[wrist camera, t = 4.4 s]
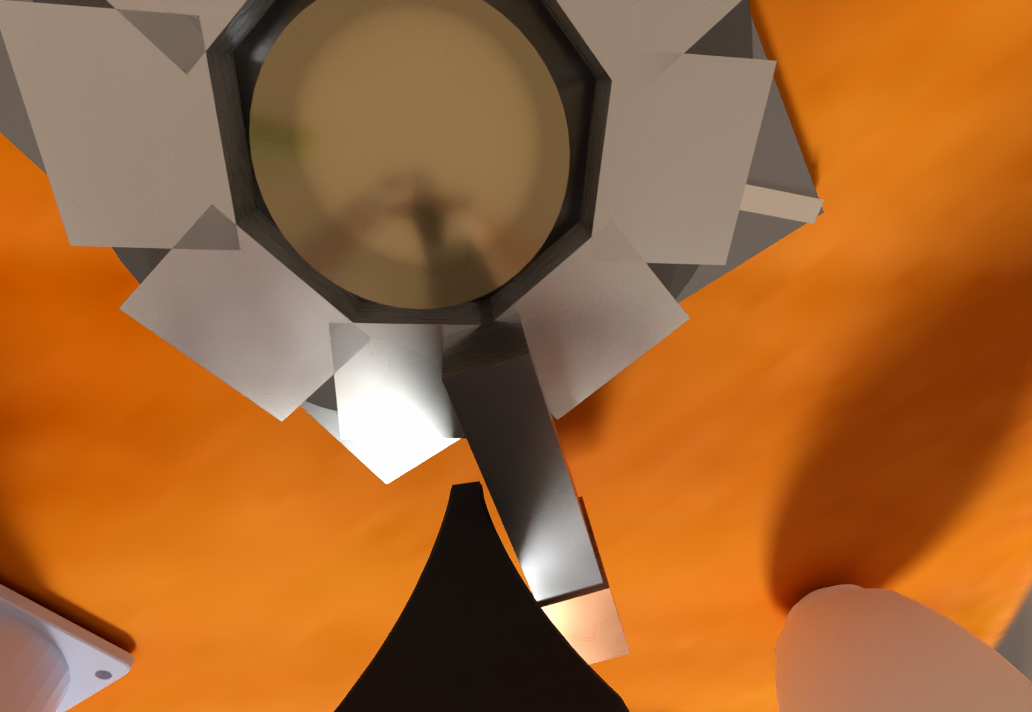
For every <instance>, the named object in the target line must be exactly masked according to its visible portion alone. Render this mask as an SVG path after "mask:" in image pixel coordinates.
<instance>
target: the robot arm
mask: <svg viewBox="0 0 1032 712" xmlns="http://www.w3.org/2000/svg"><path fill="white" fill-rule="evenodd" d="M133 664H134V658H133V656H132V655H131V654H130V653H129V652H127V651H125V650H123V649H121V648H119V647H117V646H116V645H114V644H112V643H110V642H108V641H106V640H104V639H103V638H101V637H99V636H97V635H95V634H93V633H91V632H89V631H88V630H86V629H84V628H82V627H80V626H78V625H76V624H74V623H73V622H71V621H69V620H67V619H65V618H63V617H61V616H59V615H58V614H56V613H54V612H52V611H50V610H48V609H46V608H45V607H43V606H41V605H39V604H37V603H35V602H33V601H31V600H30V599H28V598H26V597H24V596H22V595H20V594H18V593H16V592H15V591H13V590H11V589H9V588H7V587H5V586H3V585H1V584H0V712H65V711H67V710H68V709H70V708H71V707H73V706H75V705H76V704H78V703H80V702H81V701H83V700H85V699H86V698H88V697H90V696H91V695H93V694H95V693H96V692H98V691H99V690H101V689H103V688H104V687H106V686H108V685H109V684H111V683H113V682H114V681H116V680H118V679H119V678H121V677H122V676H124V675H126V674H127V673H128V672H129V671H130V669H131V667H132V666H133ZM334 712H629V710H628V708H627V707H626V705H625V703H624V701H623V700H622V698H621V697H620V696H619V695H618V694H617V693H616V692H615V691H614V690H613V689H612V688H611V687H610V686H609V685H608V684H607V683H606V682H605V681H604V680H603V679H602V678H601V677H600V676H599V675H598V674H597V673H596V672H595V671H594V670H593V669H592V668H591V667H590V666H589V665H588V664H587V663H586V661H585V660H584V659H583V658H582V657H581V656H580V655H579V654H578V653H577V652H576V651H575V649H574V648H573V647H572V646H571V645H570V643H569V642H568V641H567V640H566V638H565V637H564V636H563V635H562V634H561V632H560V631H559V630H558V629H557V628H556V626H555V625H554V624H553V623H552V621H551V620H550V619H549V618H548V616H547V615H546V613H545V612H544V611H543V609H542V608H541V607H540V605H539V604H538V602H537V601H536V600H535V598H534V597H533V595H532V594H531V592H530V591H529V589H528V588H527V586H526V585H525V583H524V581H523V580H522V578H521V577H520V575H519V573H518V572H517V570H516V568H515V566H514V565H513V563H512V561H511V559H510V558H509V556H508V554H507V552H506V550H505V548H504V546H503V544H502V542H501V540H500V538H499V536H498V534H497V532H496V530H495V527H494V525H493V523H492V520H491V517H490V515H489V512H488V509H487V506H486V503H485V500H484V495H483V488H482V485H481V484H480V481H478V482H471V483H464V484H457V485H452V489H451V492H450V497H449V501H448V505H447V509H446V512H445V516H444V519H443V522H442V525H441V528H440V531H439V533H438V536H437V538H436V541H435V544H434V546H433V549H432V551H431V554H430V556H429V559H428V561H427V563H426V565H425V567H424V570H423V572H422V574H421V576H420V578H419V580H418V583H417V585H416V587H415V589H414V591H413V593H412V595H411V597H410V599H409V600H408V602H407V604H406V606H405V608H404V610H403V611H402V613H401V615H400V617H399V618H398V620H397V622H396V624H395V625H394V627H393V629H392V630H391V632H390V633H389V635H388V637H387V638H386V640H385V641H384V643H383V645H382V646H381V648H380V649H379V651H378V652H377V654H376V655H375V657H374V658H373V660H372V661H371V663H370V664H369V666H368V667H367V668H366V670H365V671H364V672H363V674H362V675H361V676H360V678H359V679H358V680H357V682H356V683H355V685H354V686H353V687H352V689H351V690H350V691H349V693H348V694H347V695H346V697H345V698H344V699H343V701H342V702H341V703H340V705H339V706H338V707H337V708H336V710H335V711H334Z"/></svg>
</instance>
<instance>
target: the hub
mask: <svg viewBox="0 0 1032 712" xmlns="http://www.w3.org/2000/svg"><path fill="white" fill-rule="evenodd" d="M9 1H22V2H35V3H47V4H60V5H73V6H86V7H98V8H111V9H115V8H114V7H113V6H112V5H111V4H110V3H109V2H108V1H107V0H9ZM684 54H697V55H710V56H722V57H735V58H748V59H761V60H767V57H766V55H765V52H764V49H763V46H762V44H761V41H760V38H759V36H758V33H757V30H756V27H755V25H754V22H753V19H752V17H751V13H750V7H749V1H748V0H742V1H740V2H739V3H738V4H737V5H736V6H735V7H734V8H733V9H732V10H731V11H730V12H728V13H727V14H726V15H725V16H724V17H723V18H722V19H721V20H720V21H719V22H718V23H716V24H715V25H714V26H713V27H712V28H711V29H710V30H709V31H708V32H707V33H706V34H704V35H703V36H702V37H701V38H700V39H699V40H698V41H697V42H696V43H695V44H694V45H692V46H691V47H690V48H689V49H688V50H687V51H686V52H685V53H684ZM233 55H234V62H235V68H236V75H237V81H238V88H239V94H240V100H241V107H242V113H243V120H244V126H245V133H246V139H247V145H248V152H249V158H250V165H251V171H252V178H253V184H254V190H255V197H256V203H257V209H258V210H260V211H261V212H262V213H263V214H264V215H265V216H266V217H268V218H269V219H270V220H271V221H272V222H273V223H274V224H276V225H277V226H278V228H279V229H280V231H281V232H282V234H283V235H284V237H285V238H286V239H287V241H288V242H289V243H290V244H291V245H292V247H293V248H294V249H295V250H296V251H297V253H298V254H299V255H300V256H301V257H302V258H303V259H304V260H305V261H307V262H308V263H309V264H310V265H311V266H312V267H313V268H314V269H315V270H317V271H318V272H319V273H321V274H322V275H323V276H324V277H326V278H327V279H328V280H330V281H332V282H333V283H335V284H337V285H338V286H340V287H342V288H343V289H345V290H347V291H349V292H351V293H353V294H356V295H357V296H358V297H360V298H361V299H362V300H371V301H374V302H377V303H380V304H384V305H389V306H394V307H399V308H411V309H433V308H442V307H448V306H454V305H458V304H461V303H465V302H480V301H483V300H487V299H490V298H491V297H493V296H494V295H495V294H496V293H497V292H498V291H499V290H501V289H502V288H503V287H504V286H505V285H506V284H507V283H509V282H510V281H511V280H512V279H513V278H514V277H515V276H517V275H518V274H519V273H520V272H521V271H522V270H523V269H525V268H526V267H527V266H528V265H529V264H530V263H531V262H533V261H534V260H535V259H536V258H537V257H538V256H539V255H541V254H542V253H543V252H544V251H545V250H546V249H547V248H549V247H550V246H551V245H552V244H553V243H554V242H555V241H557V240H558V239H559V238H560V237H561V236H562V235H563V234H565V233H566V232H567V231H568V230H569V229H570V228H571V227H573V226H574V225H575V224H576V223H577V222H578V221H579V214H580V206H581V198H582V189H583V181H584V172H585V164H586V155H587V147H588V138H589V130H590V121H591V113H592V104H593V96H594V87H595V77H594V76H593V74H592V73H591V72H590V70H589V69H588V67H587V66H586V64H585V63H584V62H583V60H582V59H581V57H580V56H579V55H578V53H577V52H576V50H575V49H574V48H573V46H572V45H571V43H570V42H569V40H568V39H567V38H566V36H565V35H564V33H563V32H562V31H561V29H560V28H559V26H558V25H557V24H556V22H555V21H554V19H553V18H552V17H551V15H550V14H549V12H548V11H547V9H546V8H545V7H544V5H543V4H542V2H541V1H540V0H276V1H275V2H274V4H273V5H272V6H271V7H270V9H269V10H268V11H267V12H266V13H265V15H264V16H263V17H262V18H261V19H260V21H259V22H258V23H257V24H256V26H255V27H254V28H253V29H252V30H251V32H250V33H249V34H248V35H247V36H246V38H245V39H244V40H243V41H242V43H241V44H240V45H239V46H238V47H237V49H236V50H235V51H234V52H233ZM0 132H1V133H2V134H3V135H4V136H5V137H6V138H7V139H9V140H10V141H11V142H12V143H13V144H14V145H15V146H16V147H17V148H18V149H20V150H21V151H22V152H23V153H24V154H25V155H26V156H27V157H28V158H29V159H30V160H32V161H33V162H34V163H35V164H36V165H37V166H38V167H39V168H40V169H41V170H43V171H44V172H45V173H46V174H47V172H46V169H45V166H44V163H43V160H42V157H41V154H40V151H39V147H38V144H37V141H36V138H35V135H34V132H33V129H32V126H31V123H30V120H29V117H28V114H27V110H26V107H25V104H24V101H23V98H22V95H21V92H20V89H19V86H18V83H17V80H16V76H15V73H14V70H13V67H12V64H11V61H10V58H9V55H8V52H7V49H6V46H5V43H4V39H3V36H2V33H1V30H0ZM823 202H824V200H823V199H820V198H818V195H817V193H816V190H815V187H814V184H813V182H812V179H811V176H810V174H809V171H808V168H807V165H806V163H805V160H804V157H803V155H802V152H801V149H800V147H799V144H798V141H797V138H796V136H795V133H794V130H793V128H792V125H791V122H790V119H789V117H788V114H787V111H786V109H785V106H784V103H783V101H782V98H781V95H780V92H779V90H778V87H777V84H776V82H775V79H774V76H773V79H772V83H771V87H770V91H769V95H768V99H767V102H766V106H765V110H764V114H763V118H762V122H761V126H760V130H759V134H758V138H757V142H756V146H755V150H754V154H753V158H752V162H751V166H750V170H749V174H748V178H747V182H746V185H745V189H744V193H743V197H742V201H741V205H740V209H739V213H738V217H737V221H736V225H735V229H734V233H733V237H732V241H731V245H730V249H729V253H728V257H727V261H726V265H703V264H669V263H646V264H647V265H648V266H649V268H650V269H651V270H652V271H653V273H654V274H655V275H656V276H657V278H658V279H659V280H660V281H661V283H662V284H663V285H664V286H665V288H666V289H667V290H668V291H669V293H670V294H671V295H672V296H673V298H674V299H675V300H676V301H677V303H679V302H680V301H682V300H684V299H685V298H687V297H688V296H690V295H692V294H693V293H695V292H697V291H698V290H700V289H701V288H703V287H705V286H706V285H708V284H709V283H711V282H713V281H714V280H716V279H717V278H719V277H721V276H722V275H724V274H725V273H727V272H729V271H730V270H732V269H733V268H735V267H737V266H738V265H740V264H742V263H743V262H745V261H746V260H748V259H750V258H751V257H753V256H754V255H756V254H758V253H759V252H761V251H762V250H764V249H766V248H767V247H769V246H770V245H772V244H774V243H775V242H777V241H779V240H780V239H782V238H783V237H785V236H787V235H788V234H790V233H791V232H793V231H795V230H796V229H798V228H799V227H801V226H803V225H804V224H806V223H812V224H814V222H815V220H816V218H817V216H819V215H820V214H822V213H824V211H823V209H822V204H823ZM112 248H113V249H114V251H115V253H116V254H117V256H118V257H119V259H120V260H121V261H122V263H123V264H124V265H125V266H126V267H127V269H128V270H129V271H130V272H131V273H132V275H133V276H134V277H135V278H136V280H137V281H138V282H139V283H140V284H141V283H142V282H143V281H144V280H145V279H146V277H147V276H148V275H149V274H150V273H151V272H152V271H153V270H154V268H155V267H156V266H157V265H158V264H159V263H160V262H161V261H162V260H163V258H164V257H165V256H166V255H167V254H168V253H169V252H170V251H171V249H166V248H132V247H112ZM300 406H301V407H302V408H303V409H305V410H306V411H307V412H308V413H309V414H310V415H311V416H312V417H313V418H314V419H316V420H317V421H318V422H319V423H320V424H321V425H322V426H323V427H324V428H325V429H327V430H328V431H329V432H330V433H331V434H332V435H333V436H334V437H335V438H336V439H337V440H339V441H340V442H341V443H342V444H343V445H344V446H345V447H346V448H347V449H348V450H350V451H351V452H352V453H353V454H354V455H355V456H356V457H357V458H358V459H359V460H361V461H362V462H363V463H364V464H365V465H366V466H367V467H368V468H369V469H370V470H371V471H373V472H374V473H375V474H376V475H377V476H378V477H379V478H380V479H381V480H382V481H384V482H385V483H386V484H388V483H389V482H391V481H393V480H394V479H396V478H398V477H399V476H401V475H402V474H404V473H406V472H407V471H409V470H410V469H412V468H414V467H415V466H417V465H418V464H420V463H422V462H423V461H425V460H426V459H428V458H430V457H431V456H433V455H434V454H436V453H438V452H439V451H441V450H443V449H444V448H446V447H447V446H449V445H451V444H452V443H454V442H455V441H457V440H459V439H460V438H441V439H342V440H341V436H340V427H339V417H338V408H337V398H336V389H335V379H334V374H333V375H332V376H331V377H330V378H329V379H328V380H327V381H326V382H325V383H324V384H322V385H321V386H320V387H319V388H318V389H317V390H316V391H315V392H314V393H313V394H312V395H310V396H309V397H308V398H307V399H306V400H305V401H304V402H303V403H302V404H301V405H300Z"/></svg>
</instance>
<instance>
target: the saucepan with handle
mask: <svg viewBox="0 0 1032 712" xmlns="http://www.w3.org/2000/svg"><path fill="white" fill-rule="evenodd" d="M107 1H108V2H109V3H110V4H111V5H112V6H113V7H114V8H115V9H111V8H98V7H86V6H73V5H60V4H47V3H35V2H22V1H9V0H0V30H1V33H2V36H3V39H4V43H5V46H6V49H7V52H8V55H9V58H10V61H11V64H12V67H13V70H14V73H15V76H16V80H17V83H18V86H19V89H20V92H21V95H22V98H23V101H24V104H25V107H26V110H27V114H28V117H29V120H30V123H31V126H32V129H33V132H34V135H35V138H36V141H37V144H38V147H39V151H40V154H41V157H42V160H43V163H44V166H45V169H46V172H47V175H48V178H49V181H50V184H51V188H52V191H53V194H54V197H55V200H56V203H57V206H58V209H59V212H60V215H61V218H62V221H63V225H64V228H65V231H66V234H67V237H68V240H69V243H70V246H99V247H132V248H166V249H171V251H170V252H169V253H168V254H167V255H166V256H165V257H164V258H163V260H162V261H161V262H160V263H159V264H158V265H157V266H156V267H155V268H154V270H153V271H152V272H151V273H150V274H149V275H148V276H147V277H146V279H145V280H144V281H143V282H142V283H141V284H140V285H139V286H138V288H137V289H136V290H135V291H134V292H133V293H132V294H131V295H130V297H129V298H128V299H127V300H126V301H125V302H124V303H123V304H122V306H121V307H120V308H119V309H120V310H122V311H123V312H125V313H126V314H128V315H129V316H130V317H132V318H133V319H135V320H136V321H138V322H139V323H141V324H142V325H143V326H145V327H146V328H148V329H149V330H151V331H152V332H153V333H155V334H156V335H158V336H159V337H161V338H162V339H164V340H165V341H166V342H168V343H169V344H171V345H172V346H174V347H175V348H177V349H178V350H179V351H181V352H182V353H184V354H185V355H187V356H188V357H189V358H191V359H192V360H194V361H195V362H197V363H198V364H200V365H201V366H202V367H204V368H205V369H207V370H208V371H210V372H211V373H213V374H214V375H215V376H217V377H218V378H220V379H221V380H223V381H224V382H225V383H227V384H228V385H230V386H231V387H233V388H234V389H236V390H237V391H238V392H240V393H241V394H243V395H244V396H246V397H247V398H249V399H250V400H251V401H253V402H254V403H256V404H257V405H259V406H260V407H261V408H263V409H264V410H266V411H267V412H269V413H270V414H272V415H273V416H274V417H276V418H277V419H279V420H280V421H283V420H284V419H285V418H286V417H288V416H289V415H290V414H291V413H292V412H293V411H294V410H295V409H296V408H297V407H298V406H300V405H301V404H302V403H303V402H304V401H305V400H306V399H307V398H308V397H309V396H310V395H312V394H313V393H314V392H315V391H316V390H317V389H318V388H319V387H320V386H321V385H322V384H324V383H325V382H326V381H327V380H328V379H329V378H330V377H331V376H332V375H333V374H334V379H335V389H336V398H337V408H338V417H339V427H340V436H341V440H342V439H441V438H467V440H468V443H469V445H470V447H471V450H472V452H473V454H474V457H475V459H476V461H477V464H478V466H479V468H480V471H481V473H482V476H483V478H484V480H485V483H486V485H487V487H488V490H489V492H490V494H491V497H492V499H493V501H494V504H495V506H496V508H497V511H498V513H499V516H500V518H501V520H502V523H503V525H504V527H505V530H506V532H507V534H508V537H509V539H510V541H511V544H512V546H513V548H514V551H515V553H516V556H517V558H518V560H519V563H520V565H521V567H522V570H523V572H524V574H525V577H526V579H527V581H528V584H529V586H530V589H531V594H532V595H533V597H534V598H535V600H536V601H537V602H538V604H539V605H540V607H541V608H542V609H543V611H544V612H545V613H546V615H547V616H548V618H549V619H550V620H551V621H552V623H553V624H554V625H555V626H556V628H557V629H558V630H559V631H560V632H561V634H562V635H563V636H564V637H565V638H566V640H567V641H568V642H569V643H570V645H571V646H572V647H573V648H574V649H575V651H576V652H577V653H578V654H579V655H580V656H581V657H582V658H583V659H584V660H585V661H586V663H587V664H588V665H590V664H593V663H597V662H601V661H604V660H608V659H611V658H615V657H618V656H622V655H626V654H629V653H630V652H629V648H628V645H627V642H626V638H625V635H624V632H623V628H622V625H621V622H620V618H619V615H618V612H617V609H616V605H615V602H614V599H613V595H612V592H611V589H610V585H609V582H608V579H607V575H606V572H605V569H604V565H603V562H602V559H601V556H600V552H599V549H598V546H597V543H596V540H595V536H594V533H593V530H592V527H591V524H590V520H589V517H588V514H587V511H586V508H585V504H584V501H583V498H582V496H581V497H578V494H577V491H576V488H575V485H574V482H573V479H572V475H571V472H570V469H569V466H568V463H567V460H566V457H565V453H564V450H563V447H562V444H561V441H560V438H559V435H558V431H557V428H556V425H555V422H554V419H553V416H554V417H555V418H556V419H557V420H558V419H560V418H561V417H562V416H564V415H565V414H566V413H568V412H569V411H570V410H571V409H573V408H574V407H575V406H577V405H578V404H579V403H581V402H582V401H583V400H584V399H586V398H587V397H588V396H590V395H591V394H592V393H594V392H595V391H596V390H597V389H599V388H600V387H601V386H603V385H604V384H605V383H607V382H608V381H609V380H610V379H612V378H613V377H614V376H616V375H617V374H618V373H620V372H621V371H622V370H623V369H625V368H626V367H627V366H629V365H630V364H631V363H633V362H634V361H635V360H636V359H638V358H639V357H640V356H642V355H643V354H644V353H646V352H647V351H648V350H649V349H651V348H652V347H653V346H655V345H656V344H657V343H659V342H660V341H661V340H662V339H664V338H665V337H666V336H668V335H669V334H670V333H671V332H673V331H674V330H675V329H677V328H678V327H679V326H681V325H682V324H683V323H684V322H686V321H687V320H688V319H690V318H689V316H688V315H687V314H686V313H685V311H684V310H683V309H682V308H681V306H680V305H679V304H678V303H677V301H676V300H675V299H674V298H673V296H672V295H671V294H670V293H669V291H668V290H667V289H666V288H665V286H664V285H663V284H662V283H661V281H660V280H659V279H658V278H657V276H656V275H655V274H654V273H653V271H652V270H651V269H650V268H649V266H648V265H647V264H646V263H669V264H703V265H726V261H727V257H728V253H729V249H730V245H731V241H732V237H733V233H734V229H735V225H736V221H737V217H738V213H739V209H740V205H741V201H742V197H743V193H744V189H745V185H746V182H747V178H748V174H749V170H750V166H751V162H752V158H753V154H754V150H755V146H756V142H757V138H758V134H759V130H760V126H761V122H762V118H763V114H764V110H765V106H766V102H767V99H768V95H769V91H770V87H771V83H772V79H773V75H774V71H775V67H776V63H777V61H773V60H761V59H748V58H735V57H722V56H710V55H697V54H684V53H685V52H686V51H687V50H688V49H689V48H690V47H691V46H692V45H694V44H695V43H696V42H697V41H698V40H699V39H700V38H701V37H702V36H703V35H704V34H706V33H707V32H708V31H709V30H710V29H711V28H712V27H713V26H714V25H715V24H716V23H718V22H719V21H720V20H721V19H722V18H723V17H724V16H725V15H726V14H727V13H728V12H730V11H731V10H732V9H733V8H734V7H735V6H736V5H737V4H738V3H739V2H740V1H742V0H540V1H541V2H542V4H543V5H544V7H545V8H546V9H547V11H548V12H549V14H550V15H551V17H552V18H553V19H554V21H555V22H556V24H557V25H558V26H559V28H560V29H561V31H562V32H563V33H564V35H565V36H566V38H567V39H568V40H569V42H570V43H571V45H572V46H573V48H574V49H575V50H576V52H577V53H578V55H579V56H580V57H581V59H582V60H583V62H584V63H585V64H586V66H587V67H588V69H589V70H590V72H591V73H592V74H593V76H594V77H595V87H594V96H593V104H592V113H591V121H590V130H589V138H588V147H587V155H586V164H585V172H584V181H583V189H582V198H581V206H580V214H579V221H578V222H577V223H576V224H575V225H574V226H573V227H571V228H570V229H569V230H568V231H567V232H566V233H565V234H563V235H562V236H561V237H560V238H559V239H558V240H557V241H555V242H554V243H553V244H552V245H551V246H550V247H549V248H547V249H546V250H545V251H544V252H543V253H542V254H541V255H539V256H538V257H537V258H536V259H535V260H534V261H533V262H531V263H530V264H529V265H528V266H527V267H526V268H525V269H523V270H522V271H521V272H520V273H519V274H518V275H517V276H515V277H514V278H513V279H512V280H511V281H510V282H509V283H507V284H506V285H505V286H504V287H503V288H502V289H501V290H499V291H498V292H497V293H496V294H495V295H494V296H493V297H491V298H490V299H487V300H483V301H480V302H465V303H461V304H458V305H454V306H448V307H442V308H433V309H411V308H399V307H394V306H389V305H384V304H380V303H377V302H374V301H371V300H362V299H361V298H360V297H358V296H357V295H356V294H353V293H351V292H349V291H347V290H345V289H343V288H342V287H340V286H338V285H337V284H335V283H333V282H332V281H330V280H328V279H327V278H326V277H324V276H323V275H322V274H321V273H319V272H318V271H317V270H315V269H314V268H313V267H312V266H311V265H310V264H309V263H308V262H307V261H305V260H304V259H303V258H302V257H301V256H300V255H299V254H298V253H297V251H296V250H295V249H294V248H293V247H292V245H291V244H290V243H289V242H288V241H287V239H286V238H285V237H284V235H283V234H282V232H281V231H280V229H279V228H278V226H277V225H276V224H274V223H273V222H272V221H271V220H270V219H269V218H268V217H266V216H265V215H264V214H263V213H262V212H261V211H260V210H258V209H257V203H256V197H255V190H254V184H253V178H252V171H251V165H250V158H249V152H248V145H247V139H246V133H245V126H244V120H243V113H242V107H241V100H240V94H239V88H238V81H237V75H236V68H235V62H234V55H233V52H234V51H235V50H236V49H237V47H238V46H239V45H240V44H241V43H242V41H243V40H244V39H245V38H246V36H247V35H248V34H249V33H250V32H251V30H252V29H253V28H254V27H255V26H256V24H257V23H258V22H259V21H260V19H261V18H262V17H263V16H264V15H265V13H266V12H267V11H268V10H269V9H270V7H271V6H272V5H273V4H274V2H275V1H276V0H107ZM552 415H553V416H552Z"/></svg>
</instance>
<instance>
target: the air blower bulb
mask: <svg viewBox="0 0 1032 712" xmlns="http://www.w3.org/2000/svg"><path fill="white" fill-rule="evenodd" d="M775 677H776V692H777V700H778V707H779V712H1032V683H1031V682H1030V681H1029V680H1028V679H1027V678H1026V677H1025V676H1024V675H1023V674H1022V673H1021V672H1020V671H1018V670H1017V669H1016V668H1015V667H1014V666H1013V665H1011V664H1010V663H1009V662H1008V661H1007V660H1006V659H1005V658H1003V657H1002V656H1001V655H1000V654H999V653H997V652H996V651H995V650H994V649H992V648H991V647H990V646H989V645H987V644H986V643H985V642H983V641H982V640H981V639H979V638H978V637H976V636H975V635H974V634H972V633H971V632H969V631H968V630H966V629H965V628H963V627H962V626H960V625H959V624H957V623H956V622H954V621H952V620H951V619H949V618H947V617H946V616H944V615H942V614H940V613H938V612H937V611H935V610H933V609H931V608H929V607H927V606H925V605H923V604H921V603H919V602H917V601H915V600H913V599H911V598H909V597H906V596H904V595H902V594H900V593H898V592H895V591H892V590H887V589H882V588H867V589H864V588H862V587H860V586H858V585H852V584H842V585H835V586H831V587H826V588H820V589H817V590H814V591H812V592H810V593H808V594H807V595H805V596H804V597H803V598H802V599H801V600H800V601H799V602H797V603H796V604H795V605H794V606H793V607H792V609H791V610H790V612H789V613H788V615H787V618H786V622H785V628H784V629H783V630H782V632H781V634H780V636H779V638H778V640H777V644H776V648H775Z"/></svg>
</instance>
